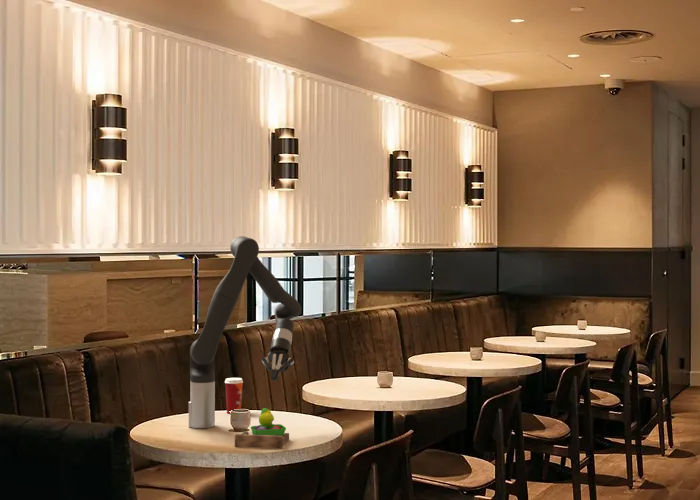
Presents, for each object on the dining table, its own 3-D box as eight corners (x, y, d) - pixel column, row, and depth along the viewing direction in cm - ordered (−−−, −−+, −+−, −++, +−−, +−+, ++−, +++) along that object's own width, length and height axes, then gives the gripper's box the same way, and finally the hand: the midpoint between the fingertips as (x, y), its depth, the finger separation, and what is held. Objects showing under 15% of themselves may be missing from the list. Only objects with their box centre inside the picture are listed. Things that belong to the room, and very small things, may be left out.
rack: (234, 446, 334) (234, 435, 334) (244, 438, 348) (244, 427, 348) (281, 448, 332) (281, 436, 332) (289, 440, 346) (289, 428, 345)
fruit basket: (255, 444, 338) (255, 412, 338) (249, 439, 346) (249, 408, 346) (286, 442, 342) (286, 410, 342) (279, 437, 350) (279, 406, 350)
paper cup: (243, 414, 392) (243, 380, 392) (224, 414, 391) (224, 380, 391) (242, 410, 400) (242, 377, 400) (224, 411, 399) (224, 377, 398)
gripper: (263, 336, 369) (255, 372, 357) (297, 337, 367) (290, 374, 355) (265, 348, 374) (258, 385, 363) (299, 349, 373) (292, 386, 361)
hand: (274, 379), depth 359 cm, fingers closed
